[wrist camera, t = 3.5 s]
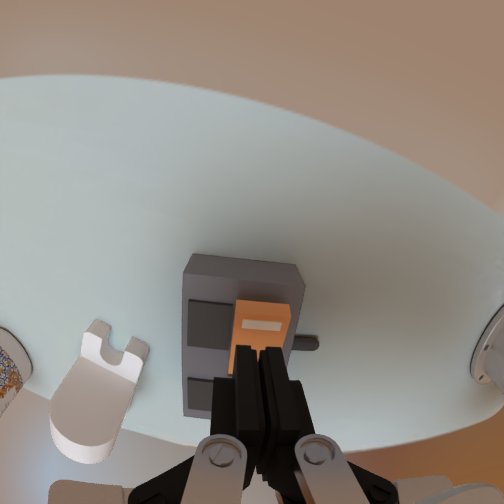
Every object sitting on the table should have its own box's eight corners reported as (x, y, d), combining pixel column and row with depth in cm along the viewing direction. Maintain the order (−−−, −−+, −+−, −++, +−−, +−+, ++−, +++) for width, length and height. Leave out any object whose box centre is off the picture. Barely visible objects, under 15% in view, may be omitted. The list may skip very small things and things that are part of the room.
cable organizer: (150, 344, 22) (111, 440, 12) (128, 409, 24) (101, 486, 15) (94, 316, 21) (33, 396, 11) (82, 387, 23) (44, 457, 14)
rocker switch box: (335, 268, 20) (354, 291, 16) (300, 394, 24) (308, 425, 20) (192, 253, 19) (181, 274, 16) (189, 387, 23) (183, 418, 19)
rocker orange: (289, 304, 15) (291, 317, 14) (272, 364, 18) (273, 377, 17) (236, 299, 15) (235, 313, 14) (229, 361, 18) (228, 374, 17)
